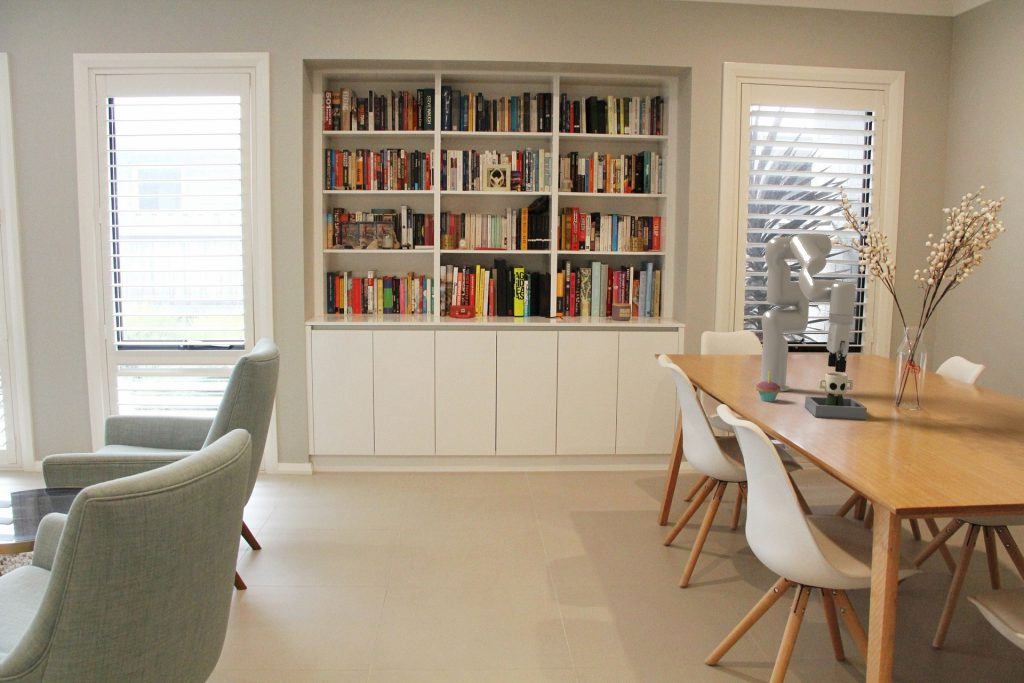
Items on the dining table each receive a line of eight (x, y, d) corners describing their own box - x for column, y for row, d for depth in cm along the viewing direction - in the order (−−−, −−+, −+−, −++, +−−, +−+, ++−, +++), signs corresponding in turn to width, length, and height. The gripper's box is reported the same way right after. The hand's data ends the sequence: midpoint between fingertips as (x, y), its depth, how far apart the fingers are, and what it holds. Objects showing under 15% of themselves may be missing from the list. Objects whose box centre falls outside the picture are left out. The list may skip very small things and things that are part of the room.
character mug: (819, 413, 263) (822, 375, 262) (814, 409, 270) (817, 372, 269) (853, 415, 262) (856, 376, 260) (847, 410, 269) (850, 373, 267)
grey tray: (804, 407, 275) (805, 396, 274) (852, 409, 273) (853, 398, 272) (815, 417, 259) (815, 405, 259) (865, 419, 257) (866, 408, 256)
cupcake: (781, 403, 281) (783, 370, 280) (756, 402, 283) (758, 369, 282) (778, 398, 290) (780, 366, 288) (754, 397, 291) (756, 365, 290)
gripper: (822, 315, 271) (818, 364, 274) (835, 322, 254) (831, 373, 257) (845, 316, 270) (841, 365, 272) (859, 323, 253) (855, 374, 256)
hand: (836, 369), depth 265 cm, fingers open, 9 cm apart
